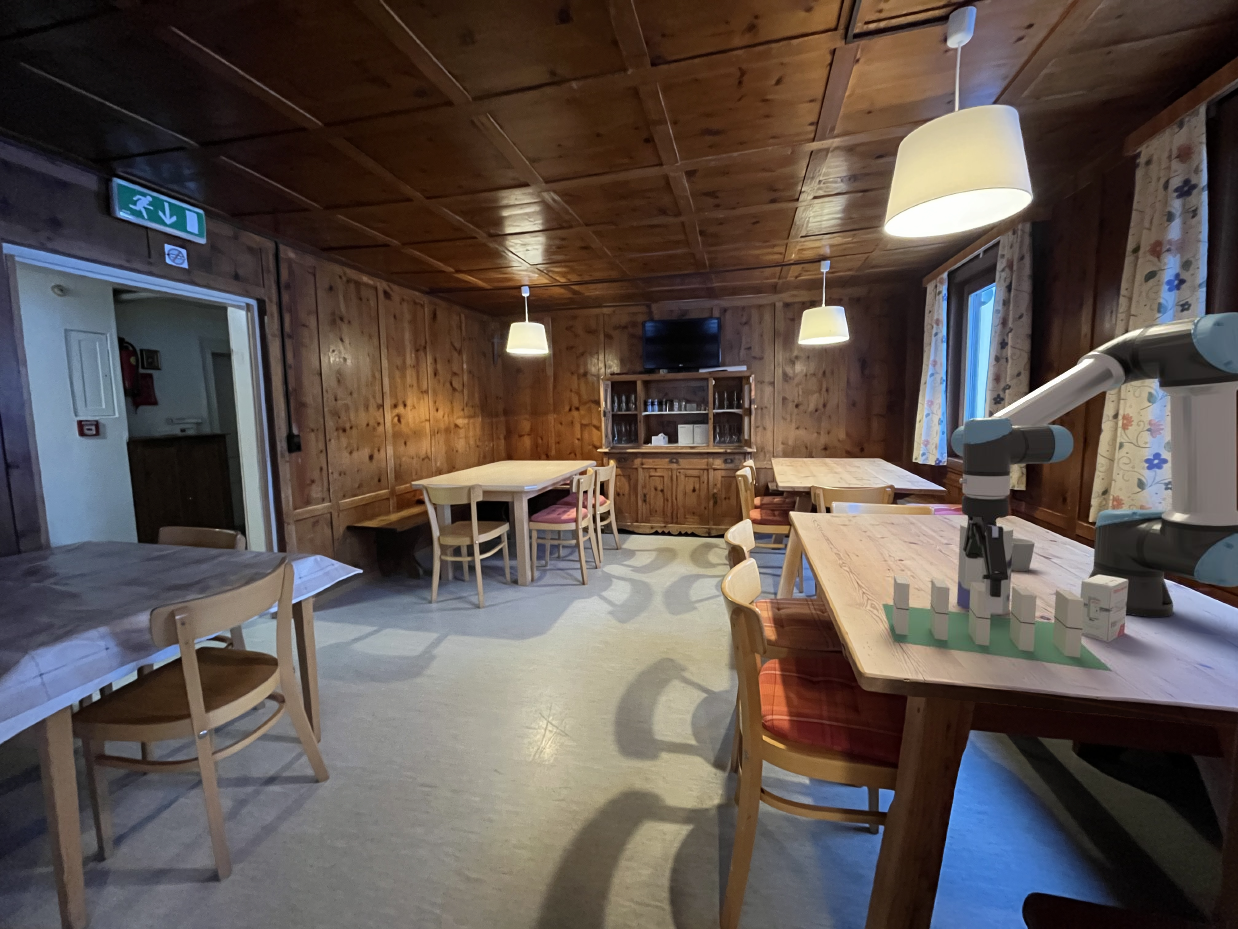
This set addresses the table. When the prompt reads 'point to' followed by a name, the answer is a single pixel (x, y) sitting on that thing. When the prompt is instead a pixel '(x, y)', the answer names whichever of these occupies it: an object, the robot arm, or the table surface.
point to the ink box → (1104, 607)
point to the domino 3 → (978, 615)
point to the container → (964, 592)
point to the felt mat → (997, 640)
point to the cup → (1022, 554)
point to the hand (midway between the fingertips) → (982, 599)
